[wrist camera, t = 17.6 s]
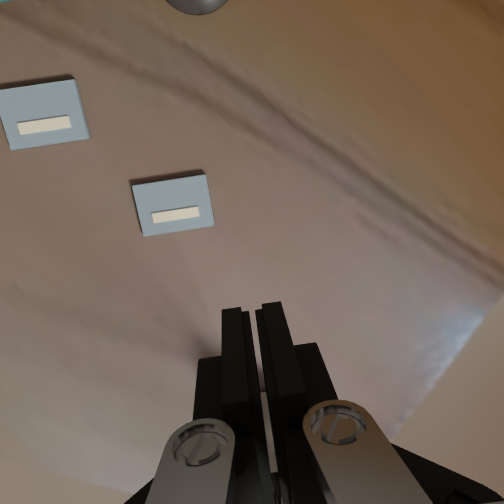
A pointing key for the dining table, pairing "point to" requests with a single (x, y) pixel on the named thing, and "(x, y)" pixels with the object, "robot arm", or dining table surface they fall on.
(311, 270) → the dining table surface
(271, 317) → the robot arm
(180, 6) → the pivot plate
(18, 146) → the label cards
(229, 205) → the dining table surface
